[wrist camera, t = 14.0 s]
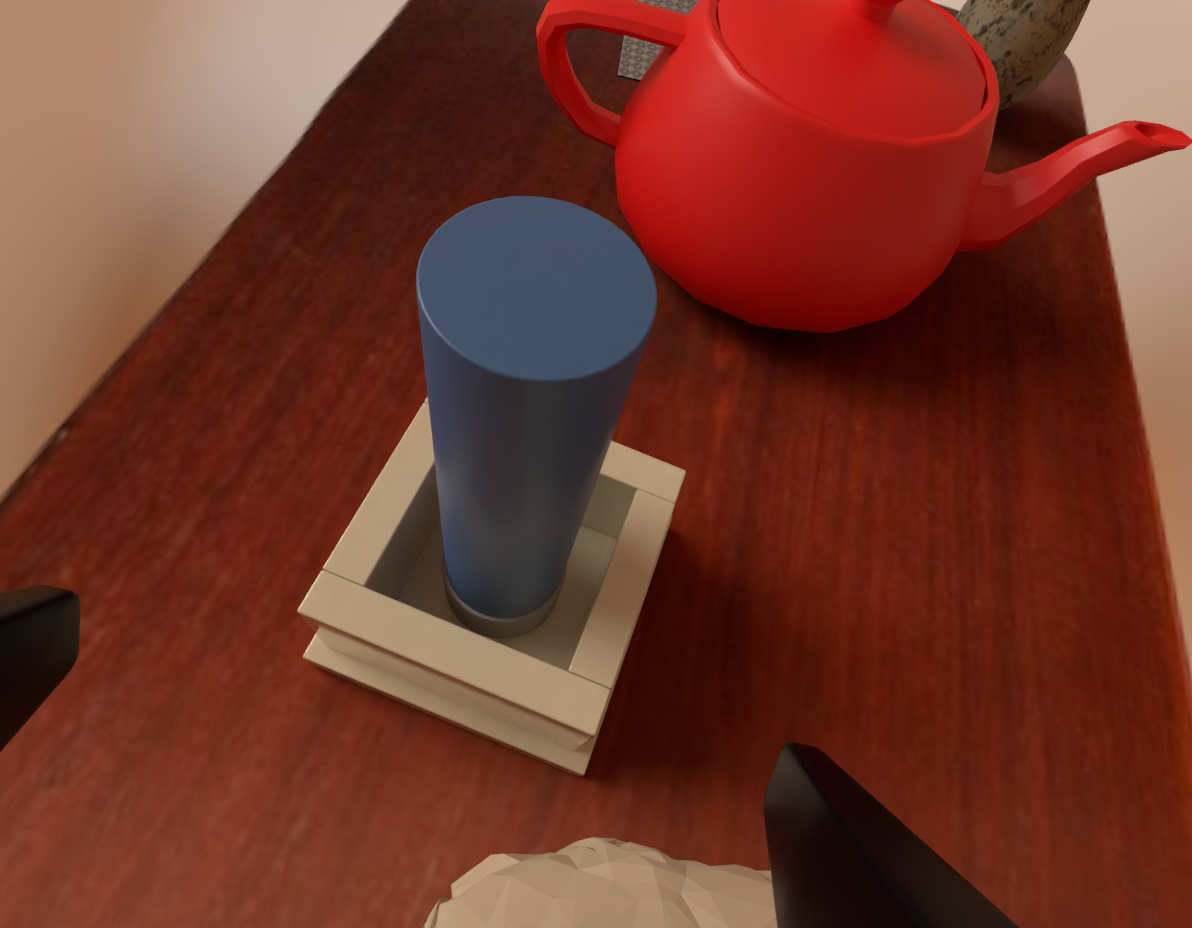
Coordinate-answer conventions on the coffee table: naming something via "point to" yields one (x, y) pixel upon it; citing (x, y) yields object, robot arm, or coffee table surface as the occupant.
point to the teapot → (815, 151)
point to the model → (606, 891)
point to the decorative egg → (1022, 39)
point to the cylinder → (524, 391)
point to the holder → (471, 660)
